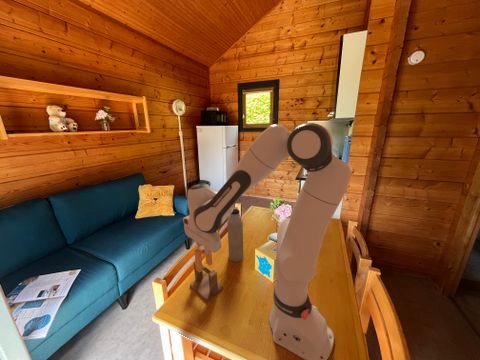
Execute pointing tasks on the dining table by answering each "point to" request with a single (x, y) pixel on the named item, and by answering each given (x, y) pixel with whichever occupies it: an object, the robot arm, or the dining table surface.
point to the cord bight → (199, 258)
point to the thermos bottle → (235, 236)
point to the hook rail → (206, 283)
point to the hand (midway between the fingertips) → (203, 251)
